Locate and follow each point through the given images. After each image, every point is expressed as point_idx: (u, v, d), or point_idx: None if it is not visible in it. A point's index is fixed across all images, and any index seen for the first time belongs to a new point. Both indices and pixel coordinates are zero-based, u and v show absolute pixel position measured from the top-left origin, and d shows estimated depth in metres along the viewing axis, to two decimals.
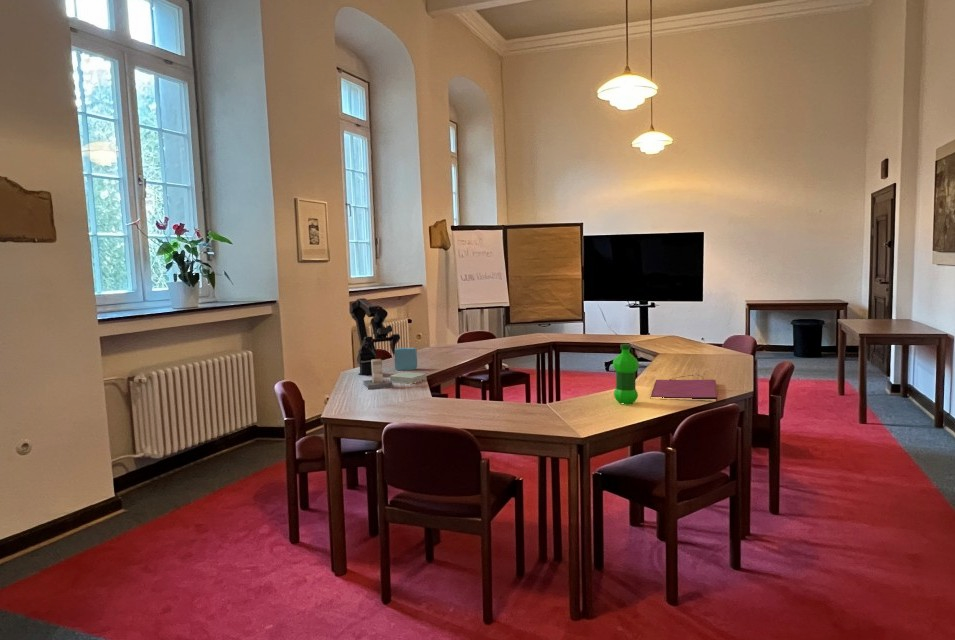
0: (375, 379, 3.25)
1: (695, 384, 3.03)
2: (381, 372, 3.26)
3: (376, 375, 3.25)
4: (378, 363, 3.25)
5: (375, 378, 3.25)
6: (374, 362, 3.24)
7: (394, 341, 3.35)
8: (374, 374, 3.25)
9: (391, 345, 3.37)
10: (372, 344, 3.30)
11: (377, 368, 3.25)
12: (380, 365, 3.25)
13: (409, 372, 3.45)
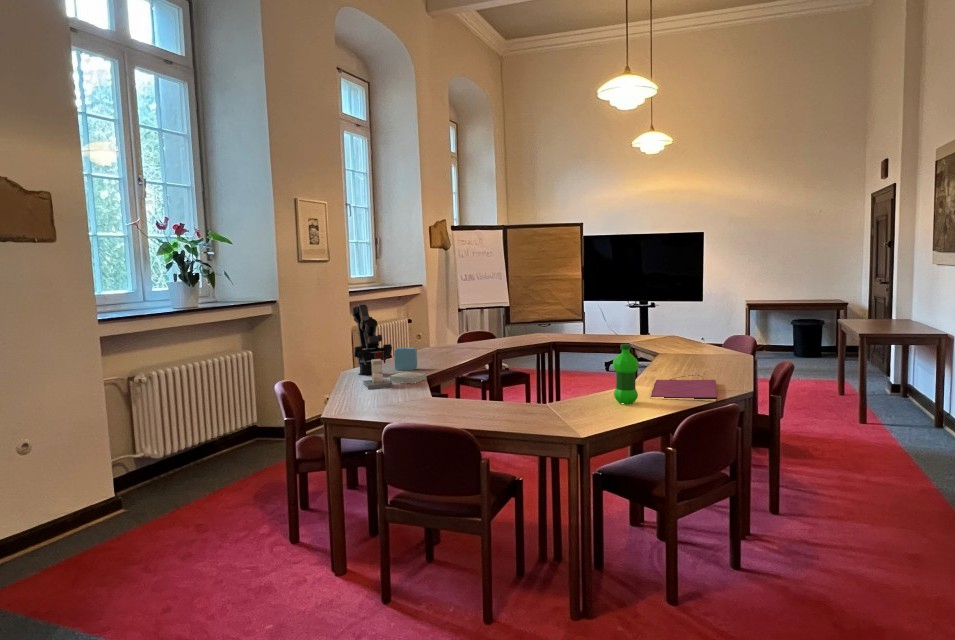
0: (375, 379, 3.25)
1: (695, 384, 3.03)
2: (381, 372, 3.26)
3: (376, 375, 3.25)
4: (378, 363, 3.25)
5: (375, 378, 3.25)
6: (374, 362, 3.24)
7: (385, 350, 3.34)
8: (374, 374, 3.25)
9: (383, 355, 3.35)
10: (362, 353, 3.30)
11: (377, 368, 3.25)
12: (380, 365, 3.25)
13: (409, 372, 3.45)
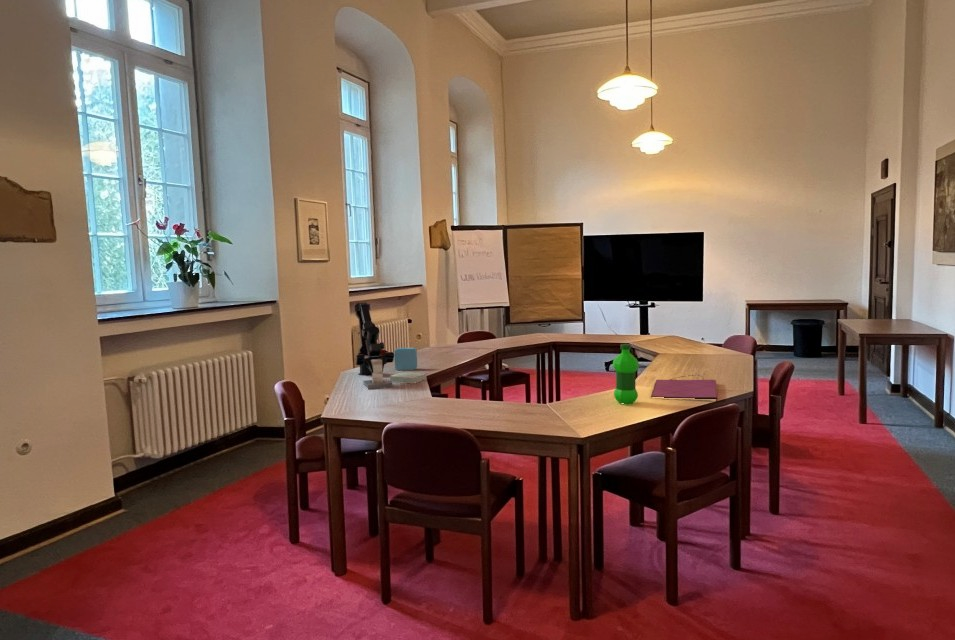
0: (375, 379, 3.25)
1: (695, 384, 3.03)
2: (381, 372, 3.26)
3: (376, 375, 3.25)
4: (378, 363, 3.25)
5: (375, 378, 3.25)
6: (374, 362, 3.24)
7: (383, 359, 3.29)
8: (374, 374, 3.25)
9: None
10: (368, 361, 3.27)
11: (377, 368, 3.25)
12: (380, 365, 3.25)
13: (409, 372, 3.45)
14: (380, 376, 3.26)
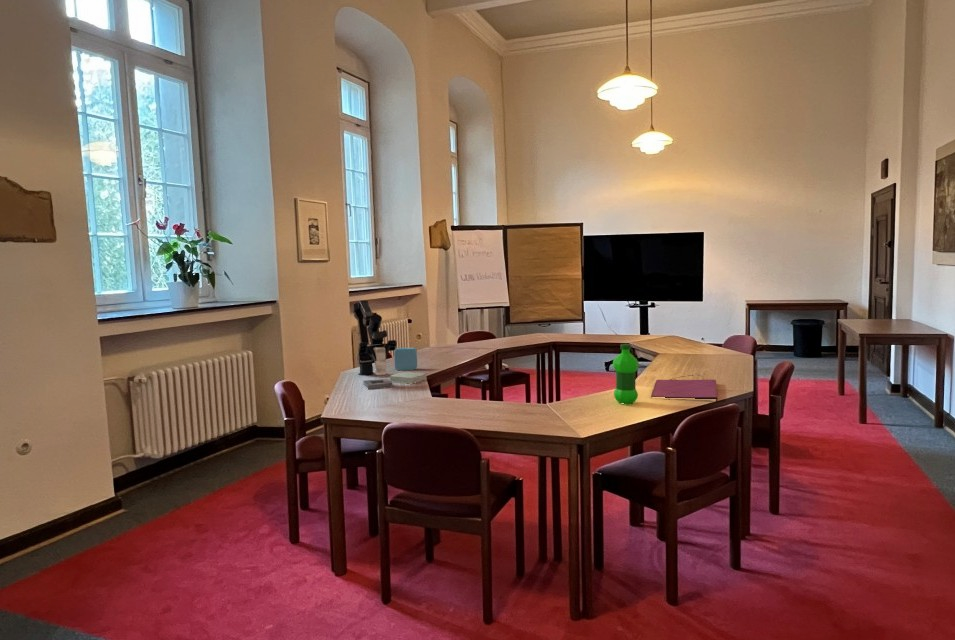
0: (378, 367, 3.25)
1: (695, 384, 3.03)
2: (384, 360, 3.26)
3: (379, 363, 3.25)
4: (381, 351, 3.25)
5: (378, 366, 3.25)
6: (377, 350, 3.24)
7: (386, 347, 3.29)
8: (377, 362, 3.25)
9: None
10: (371, 349, 3.27)
11: (380, 356, 3.25)
12: (383, 353, 3.25)
13: (409, 372, 3.45)
14: (383, 364, 3.26)
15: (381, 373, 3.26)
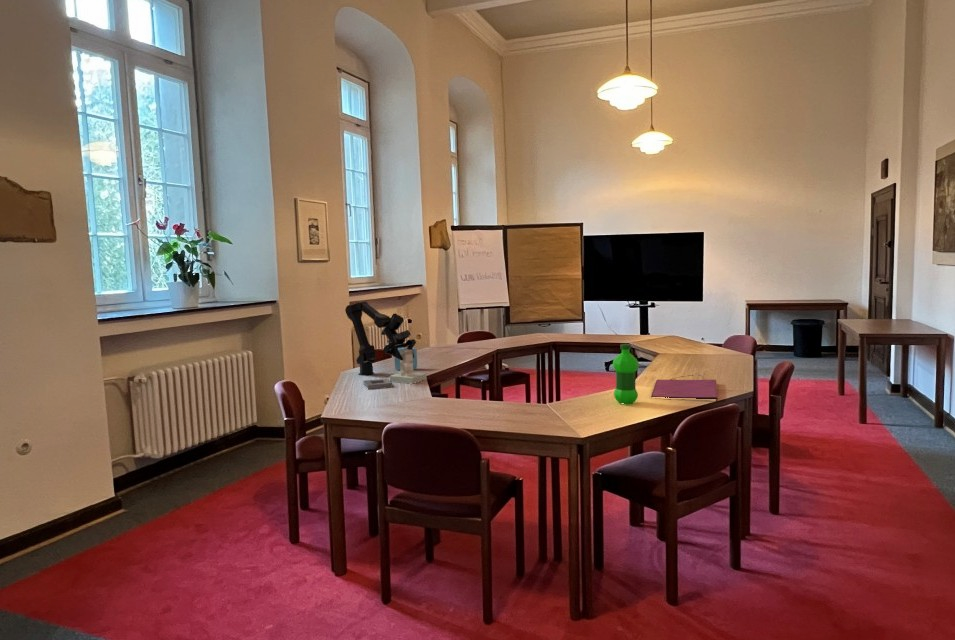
0: (407, 368, 3.35)
1: (695, 384, 3.03)
2: (412, 361, 3.37)
3: (408, 364, 3.35)
4: (409, 353, 3.35)
5: (407, 367, 3.35)
6: (407, 352, 3.34)
7: (411, 345, 3.41)
8: (406, 364, 3.34)
9: None
10: (396, 349, 3.33)
11: (409, 358, 3.35)
12: (411, 354, 3.36)
13: None
14: (411, 365, 3.36)
15: (409, 374, 3.36)
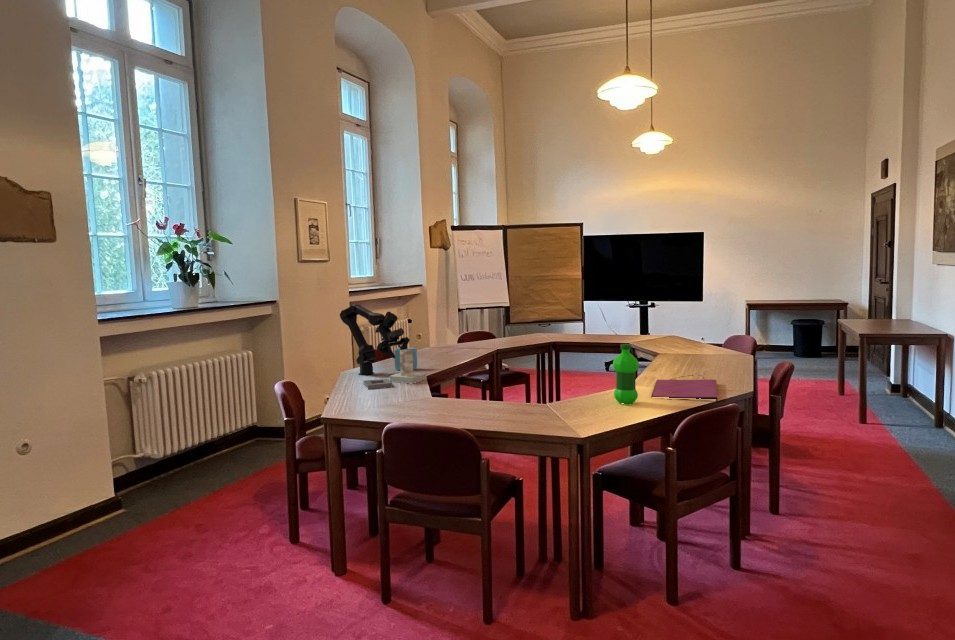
0: (407, 368, 3.35)
1: (696, 384, 3.03)
2: (411, 361, 3.37)
3: (408, 364, 3.35)
4: (409, 353, 3.35)
5: (407, 367, 3.35)
6: (406, 352, 3.34)
7: (406, 343, 3.44)
8: (406, 364, 3.34)
9: (402, 348, 3.45)
10: (389, 347, 3.36)
11: (409, 358, 3.35)
12: (411, 354, 3.36)
13: None
14: (411, 365, 3.36)
15: (409, 374, 3.36)
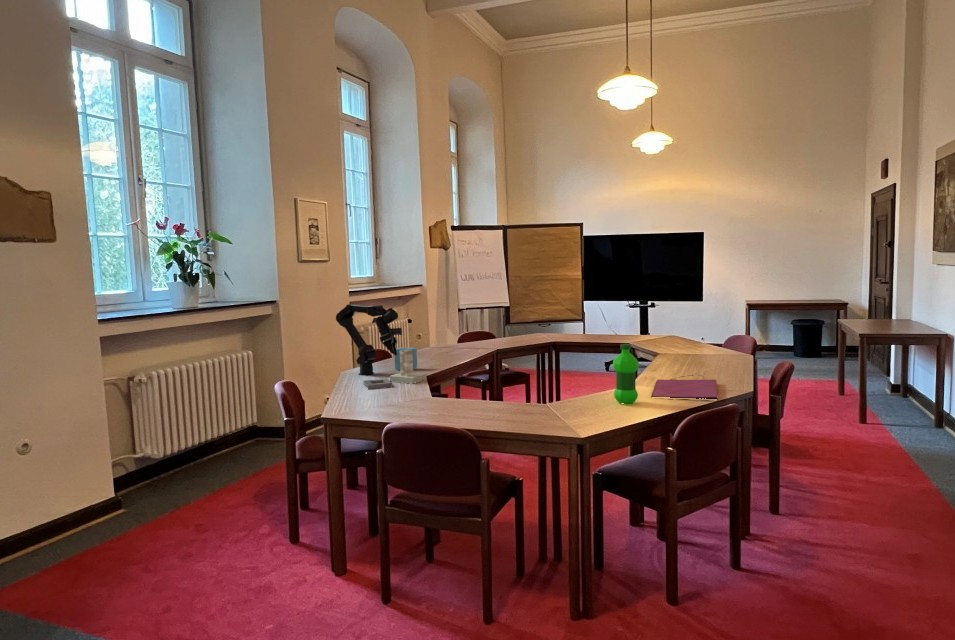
0: (407, 368, 3.35)
1: (696, 384, 3.03)
2: (411, 361, 3.37)
3: (408, 364, 3.35)
4: (409, 353, 3.35)
5: (407, 367, 3.35)
6: (406, 352, 3.34)
7: (395, 343, 3.53)
8: (406, 364, 3.34)
9: None
10: (392, 341, 3.41)
11: (409, 358, 3.35)
12: (411, 354, 3.36)
13: None
14: (411, 365, 3.36)
15: (409, 374, 3.36)
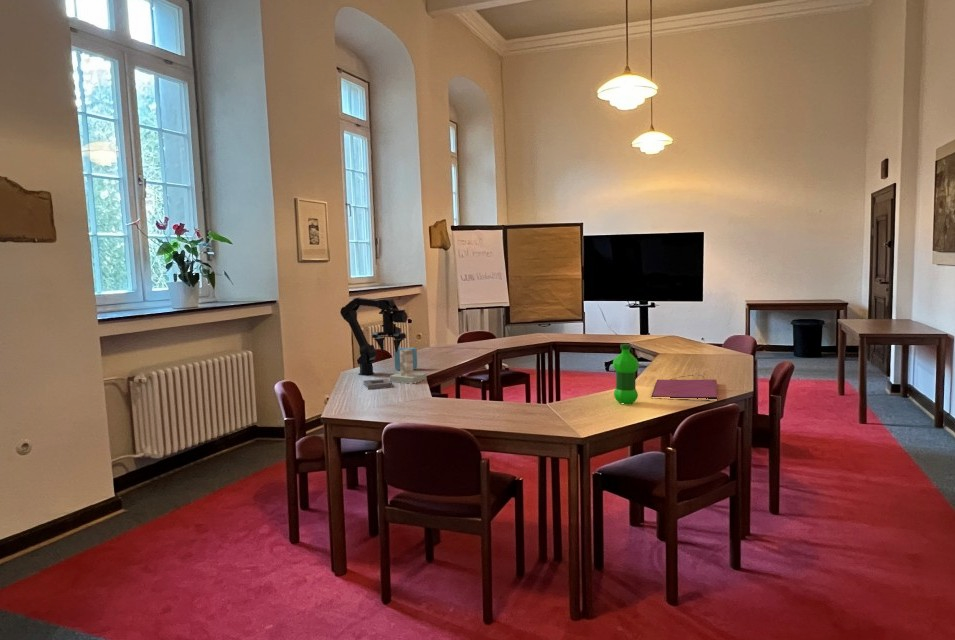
0: (407, 368, 3.35)
1: (696, 384, 3.03)
2: (411, 361, 3.37)
3: (408, 364, 3.35)
4: (409, 353, 3.35)
5: (407, 367, 3.35)
6: (406, 352, 3.34)
7: None
8: (406, 364, 3.34)
9: (380, 341, 3.53)
10: None
11: (409, 358, 3.35)
12: (411, 354, 3.36)
13: None
14: (411, 365, 3.36)
15: (409, 374, 3.36)
